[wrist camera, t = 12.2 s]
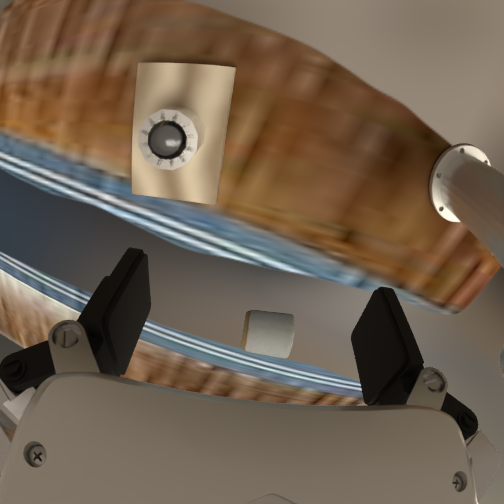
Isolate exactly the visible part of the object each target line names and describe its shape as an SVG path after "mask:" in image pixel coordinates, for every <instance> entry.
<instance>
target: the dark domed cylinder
mask: <svg viewBox="0 0 504 504" xmlns="http://www.w3.org/2000/svg"><path fill="white" fill-rule="evenodd" d="M186 142H187V136H186V133H185V131H184V129H183V127H182V126H180V125H179V124H178V123H176V122H175V121H171V122H169V123H167V124H165V125H163V126H161V127H159V128H157V129H156V130H155V131H154V132H153V134H152V136H151V146H152V148H153V149H154V151H155V152H156V153H158V154H160V155H163V156H168V155H171V154H173V153H174V152H176V151H177V150H178V149H179V148H180V147H181V146H183V145H184V144H185V143H186Z"/></svg>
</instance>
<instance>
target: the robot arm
mask: <svg viewBox="0 0 504 504" xmlns="http://www.w3.org/2000/svg"><path fill="white" fill-rule="evenodd" d="M429 193H430V199H431V202H432V205H433V207H434V209H435V210H436V211H437V212H438V213H439V214H440V215H441V216H442V217H443V218H444V219H446V220H448V221H451V222H462V223H463V224H464V225H465V226H466V227H467V228H468V229H469V231H470V232H471V233H472V234H473V235H474V236H475V237H476V238H477V239H478V240H479V241H480V242H481V243H482V244H483V245H484V247H485V248H486V249H487V250H488V251H489V252H490V253H491V254H492V256H493V257H494V258H495V259H496V260H497V261H498V262H499V263H500V265H501V266H502V267H503V268H504V174H502V173H501V172H499V171H498V170H496V169H494V168H493V167H491V165H490V162H489V160H488V158H487V156H486V155H485V154H484V152H483V151H481V150H480V149H479V148H477V147H475V146H473V145H470V144H457V145H454V146H452V147H450V148H448V149H447V150H446V151H445V152H444V153H442V155H441V156H440V157H439V158H438V160H437V162H436V163H435V165H434V167H433V170H432V173H431V177H430V182H429ZM150 308H151V298H150V285H149V271H148V256H147V254H144V252H143V250H142V249H135V248H128V249H127V251H126V252H125V254H124V255H123V257H122V258H121V260H120V261H119V263H118V264H117V266H116V267H115V269H114V270H113V272H112V274H111V275H110V276H106V277H105V278H104V279H103V280H102V281H101V283H100V284H99V286H98V288H97V289H96V291H95V292H94V294H93V295H92V297H91V298H90V300H89V302H88V303H87V305H86V307H85V308H84V310H83V311H82V313H81V315H80V316H79V318H78V320H77V321H74V320H64V321H61V322H59V323H57V324H55V325H54V326H53V327H52V328H51V330H50V332H49V335H48V340H47V341H44V342H42V343H39V344H36V345H34V346H31V347H28V348H26V349H23V350H21V351H18V352H15V353H12V354H10V355H8V356H7V357H5V358H4V359H3V360H2V362H1V364H0V504H478V502H479V500H480V499H481V498H482V496H483V495H484V494H485V492H486V491H487V489H488V488H489V487H490V485H491V484H492V482H493V481H494V479H495V478H496V476H497V475H498V473H499V471H500V470H501V467H502V458H501V456H500V454H499V453H498V451H497V450H496V448H495V447H494V446H493V444H492V443H491V442H490V441H489V439H488V438H487V437H486V435H485V434H484V433H483V431H482V430H479V431H478V430H477V429H478V420H477V417H476V415H475V414H474V413H473V412H472V411H471V410H470V409H469V408H468V407H466V406H465V405H464V404H462V403H461V402H459V401H458V400H457V399H456V398H454V397H453V396H451V395H450V394H449V393H448V392H447V388H448V383H447V380H446V378H445V376H444V375H443V373H442V372H440V371H439V370H438V369H436V368H433V367H426V368H424V367H423V363H424V361H423V358H422V356H421V353H420V350H419V348H418V345H417V343H416V340H415V338H414V335H413V333H412V330H411V328H410V326H409V323H408V321H407V319H406V316H405V314H404V312H403V309H402V307H401V305H400V303H399V300H398V298H397V296H396V294H395V292H394V290H393V289H392V288H387V287H379V288H378V290H375V291H374V292H373V294H372V296H371V298H370V300H369V302H368V304H367V306H366V308H365V310H364V312H363V313H362V316H361V317H360V319H359V321H358V323H357V325H356V326H355V328H354V330H353V332H352V335H351V341H352V346H353V350H354V355H355V359H356V364H357V369H358V373H359V378H360V383H361V388H362V393H363V398H364V403H365V404H367V405H368V406H322V405H299V404H283V403H271V402H260V401H251V400H242V399H234V398H227V397H220V396H213V395H207V394H201V393H195V392H189V391H184V390H179V389H174V388H169V387H164V386H159V385H154V384H150V383H145V382H141V381H137V380H132V379H128V378H123V377H120V375H124V374H125V372H126V370H127V367H128V365H129V362H130V359H131V357H132V354H133V352H134V349H135V346H136V344H137V341H138V339H139V336H140V334H141V331H142V329H143V326H144V324H145V322H146V319H147V317H148V314H149V311H150ZM500 368H501V371H502V374H503V377H504V345H503V347H502V350H501V353H500ZM17 425H18V426H17Z"/></svg>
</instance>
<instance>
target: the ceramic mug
mask: <svg viewBox="0 0 504 504" xmlns="http://www.w3.org/2000/svg"><path fill="white" fill-rule="evenodd" d="M293 335H294V316H293V315H292V314H284V313H276V312H266V311H258V310H251V311H248V312H247V313H246V317H245V324H244V329H243V336H242V343H241V347H242V349H243V350H245V351H248V352H251V353H257V354H263V355H269V356H274V357H280V358H287V357H288V356H289V354H290V350H291V347H292V343H293Z"/></svg>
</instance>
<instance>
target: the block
mask: <svg viewBox="0 0 504 504" xmlns="http://www.w3.org/2000/svg"><path fill="white" fill-rule="evenodd" d="M235 73H236V68H235V67H227V66H217V65H204V64H188V63H138V69H137V79H136V89H135V101H134V116H133V136H132V194H138V195H146V196H154V197H162V198H169V199H177V200H184V201H191V202H198V203H205V204H212V205H216V204H217V201H218V194H219V185H220V177H221V169H222V162H223V154H224V147H225V139H226V132H227V125H228V118H229V111H230V105H231V98H232V92H233V86H234V79H235ZM170 106H182V107H188V108H189V109H191V110H192V111H194V112H195V113H196V114H198V115H199V116H200V118H201V121H202V123H203V125H204V127H205V135H204V144H203V145H202V146H201V148H200V149H199V150H198V152H197V153H196V154H195V156H194V157H193V158H192V159H191V160H190V161H189V162H188V164H186V165H184V166H181V167H179V168H177V169H174V170H166V169H157V168H156V167H155V166H153V165H152V164H150V163H149V162H147V161H146V160H145V159H144V157H143V155H142V153H141V151H140V149H139V147H138V135H139V129H140V127H141V126H142V124H143V123H144V121H145V119H146V118H147V117H148V116H150V115H152V114H154V113H155V112H157V111H159V110H161V109H164V108H167V107H170ZM169 122H171V121H170V120H165V121H164V122H163V123H162V125H161V126H163V125H165V124H167V123H169ZM161 126H160V127H161ZM186 143H187V142H186ZM186 143H185V144H184V145H183V146H181V147H180V148H179V149H178V150H177V151H182V150H185V148H186Z"/></svg>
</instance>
